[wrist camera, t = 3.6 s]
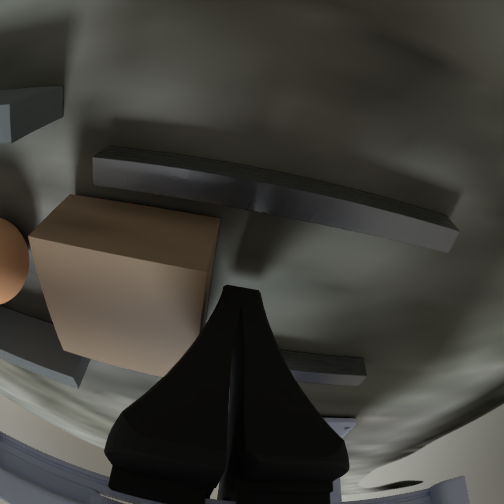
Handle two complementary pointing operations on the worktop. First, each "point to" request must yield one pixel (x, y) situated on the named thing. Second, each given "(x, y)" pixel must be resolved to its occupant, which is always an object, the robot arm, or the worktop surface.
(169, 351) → the brown square block
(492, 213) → the worktop surface
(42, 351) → the tray
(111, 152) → the rails
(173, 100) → the worktop surface
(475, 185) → the worktop surface
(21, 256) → the ball
